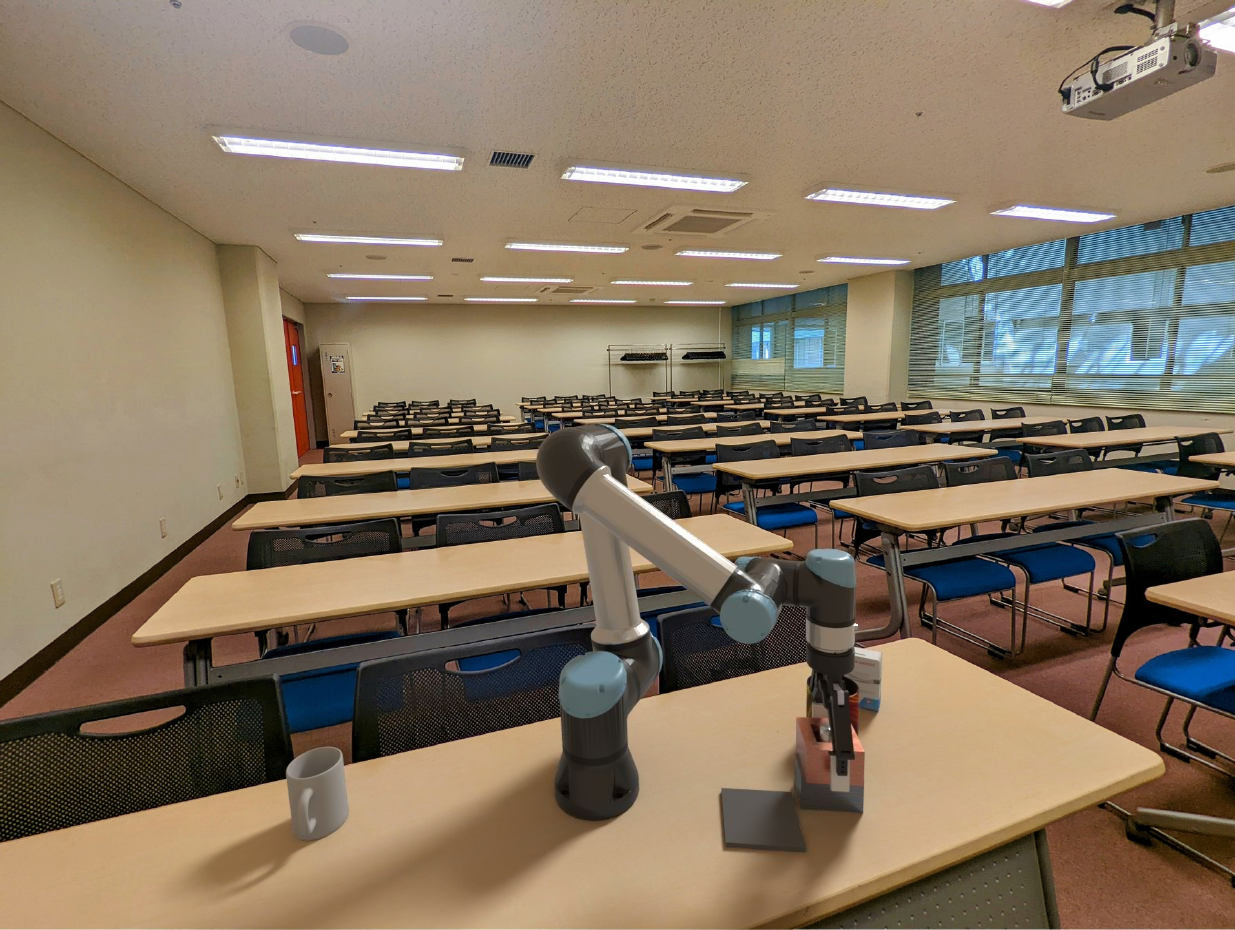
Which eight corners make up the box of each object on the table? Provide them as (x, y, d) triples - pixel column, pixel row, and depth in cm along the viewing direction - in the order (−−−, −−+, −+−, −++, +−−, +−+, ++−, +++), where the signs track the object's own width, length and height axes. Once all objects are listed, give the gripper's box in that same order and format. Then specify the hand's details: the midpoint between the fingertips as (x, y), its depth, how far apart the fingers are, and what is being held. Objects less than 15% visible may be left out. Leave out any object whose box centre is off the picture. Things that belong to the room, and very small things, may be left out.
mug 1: (302, 808, 99) (295, 750, 98) (354, 799, 101) (348, 742, 99) (277, 863, 87) (268, 799, 86) (336, 852, 89) (329, 789, 88)
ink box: (881, 701, 126) (883, 651, 124) (878, 712, 121) (879, 661, 120) (840, 691, 130) (842, 643, 128) (836, 701, 126) (837, 652, 124)
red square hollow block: (806, 782, 92) (806, 749, 92) (795, 748, 101) (796, 717, 100) (863, 786, 91) (864, 751, 90) (848, 750, 100) (849, 719, 99)
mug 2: (832, 713, 122) (833, 660, 120) (867, 754, 108) (869, 695, 106) (789, 717, 121) (789, 664, 119) (819, 759, 107) (820, 700, 105)
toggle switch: (800, 809, 95) (801, 737, 93) (794, 784, 101) (794, 716, 99) (863, 812, 93) (865, 740, 92) (852, 787, 99) (854, 718, 98)
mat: (725, 847, 88) (725, 842, 87) (721, 792, 99) (721, 787, 99) (805, 852, 86) (805, 847, 86) (791, 796, 98) (791, 791, 98)
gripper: (879, 683, 80) (876, 818, 83) (834, 613, 105) (833, 719, 108) (824, 681, 81) (823, 815, 84) (793, 613, 106) (793, 718, 109)
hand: (829, 761), depth 96 cm, fingers open, 13 cm apart
